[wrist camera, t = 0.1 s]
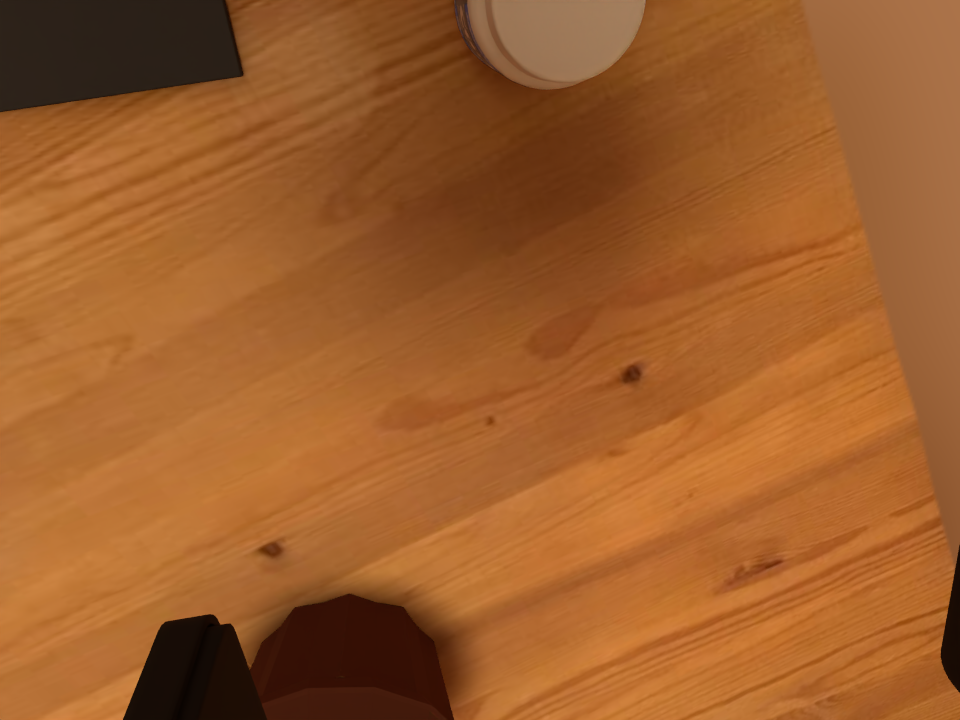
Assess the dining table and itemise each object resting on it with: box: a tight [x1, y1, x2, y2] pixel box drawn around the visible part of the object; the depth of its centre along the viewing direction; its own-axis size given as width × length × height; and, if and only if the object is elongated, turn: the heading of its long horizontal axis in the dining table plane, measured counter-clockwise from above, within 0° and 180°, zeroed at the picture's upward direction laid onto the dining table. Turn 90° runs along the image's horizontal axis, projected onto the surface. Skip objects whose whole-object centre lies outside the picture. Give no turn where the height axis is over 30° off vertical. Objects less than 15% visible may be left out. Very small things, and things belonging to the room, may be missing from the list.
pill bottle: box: [454, 0, 646, 90], centre depth 22 cm, size 5×5×8 cm
